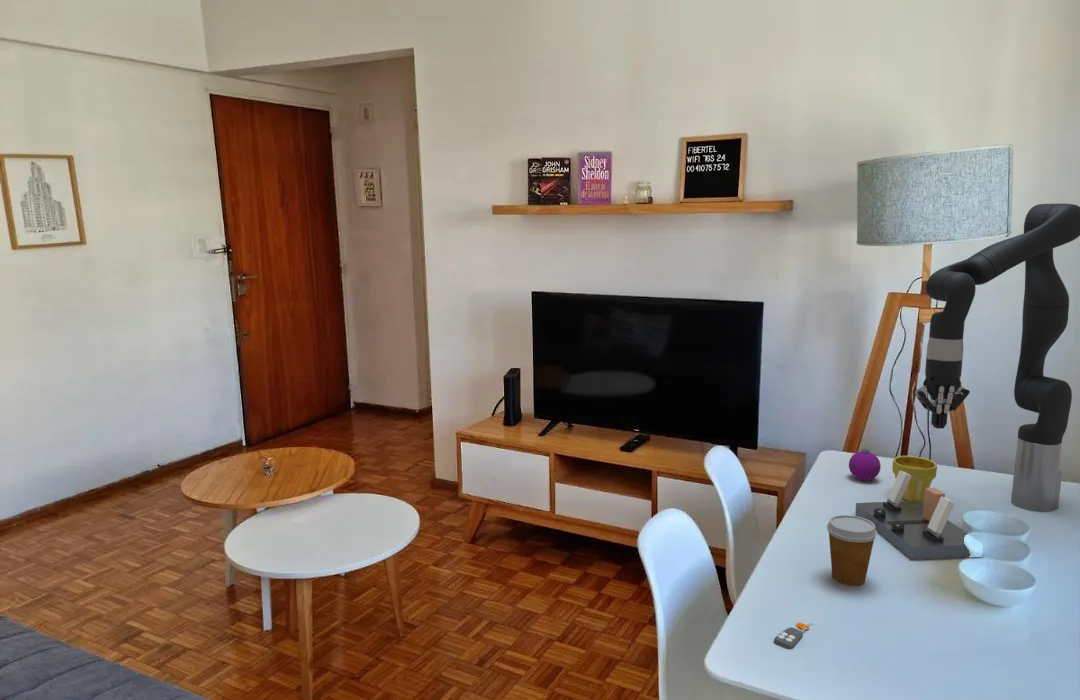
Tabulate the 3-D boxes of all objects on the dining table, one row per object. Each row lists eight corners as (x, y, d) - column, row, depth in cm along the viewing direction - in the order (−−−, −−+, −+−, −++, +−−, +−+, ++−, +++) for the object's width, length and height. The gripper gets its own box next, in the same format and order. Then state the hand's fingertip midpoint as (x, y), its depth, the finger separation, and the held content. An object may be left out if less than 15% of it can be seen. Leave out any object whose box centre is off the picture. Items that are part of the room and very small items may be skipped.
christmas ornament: (848, 473, 213) (850, 439, 211) (879, 476, 210) (881, 442, 208) (847, 482, 206) (849, 448, 204) (879, 486, 202) (882, 451, 201)
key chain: (792, 653, 127) (792, 645, 127) (772, 644, 130) (772, 637, 129) (823, 622, 136) (823, 615, 136) (803, 615, 139) (804, 608, 139)
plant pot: (942, 504, 189) (945, 468, 187) (901, 505, 189) (903, 468, 188) (922, 490, 199) (925, 455, 198) (883, 490, 199) (886, 455, 198)
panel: (917, 511, 185) (918, 494, 184) (982, 557, 160) (984, 537, 159) (855, 514, 184) (856, 497, 183) (911, 560, 159) (912, 540, 158)
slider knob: (932, 516, 174) (934, 487, 172) (942, 523, 170) (945, 493, 168) (922, 516, 173) (924, 487, 172) (932, 523, 170) (934, 494, 168)
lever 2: (930, 531, 165) (945, 497, 164) (940, 538, 161) (956, 503, 160) (924, 529, 165) (939, 495, 163) (934, 536, 161) (950, 501, 160)
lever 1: (890, 502, 182) (903, 471, 180) (898, 508, 178) (912, 476, 177) (884, 500, 181) (898, 469, 180) (893, 506, 178) (907, 474, 176)
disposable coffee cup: (871, 571, 155) (875, 517, 153) (875, 592, 146) (880, 535, 144) (823, 564, 158) (826, 511, 156) (824, 585, 149) (827, 529, 147)
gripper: (961, 352, 178) (955, 422, 181) (908, 354, 177) (902, 424, 180) (981, 358, 170) (975, 431, 173) (926, 360, 170) (920, 433, 173)
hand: (938, 427), depth 177 cm, fingers closed
